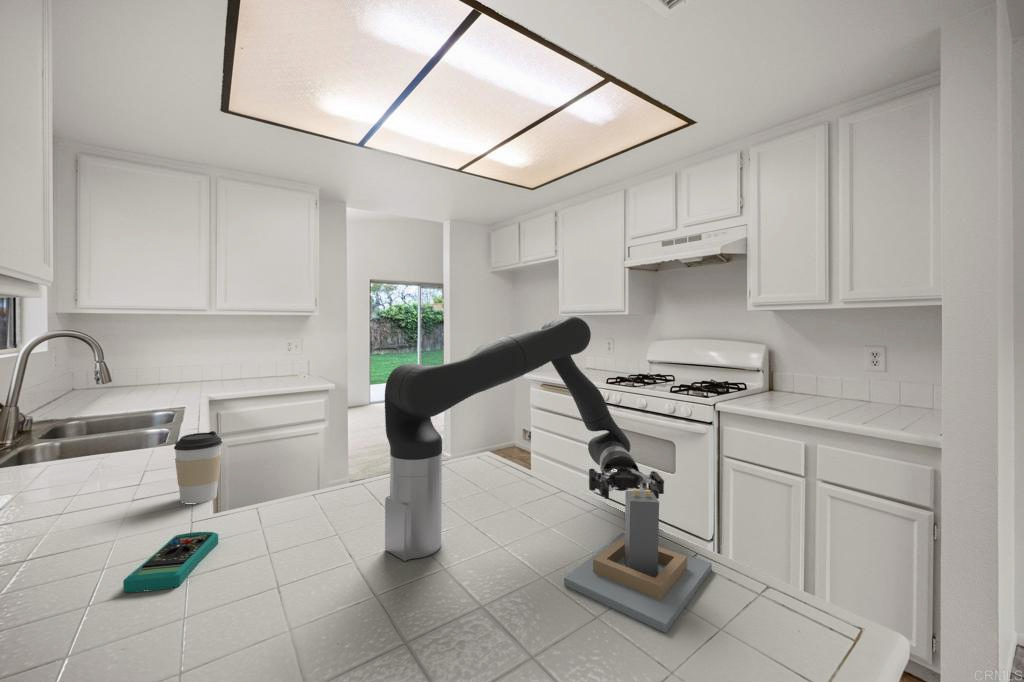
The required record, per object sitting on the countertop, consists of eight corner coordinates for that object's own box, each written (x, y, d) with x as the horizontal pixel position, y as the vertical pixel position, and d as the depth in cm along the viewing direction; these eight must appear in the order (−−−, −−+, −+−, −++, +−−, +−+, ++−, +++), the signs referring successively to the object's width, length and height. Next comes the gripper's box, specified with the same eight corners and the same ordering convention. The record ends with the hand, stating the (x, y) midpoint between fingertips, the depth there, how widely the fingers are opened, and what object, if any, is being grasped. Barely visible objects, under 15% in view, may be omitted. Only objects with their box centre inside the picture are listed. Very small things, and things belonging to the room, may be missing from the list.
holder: (666, 633, 56) (666, 609, 56) (564, 585, 67) (564, 565, 67) (711, 570, 72) (711, 551, 71) (622, 539, 82) (622, 522, 82)
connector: (628, 576, 67) (630, 494, 67) (624, 561, 72) (625, 484, 71) (657, 578, 67) (659, 496, 66) (651, 563, 71) (652, 485, 71)
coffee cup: (184, 510, 93) (184, 441, 92) (167, 500, 98) (166, 435, 97) (230, 496, 100) (229, 433, 100) (211, 488, 105) (211, 427, 105)
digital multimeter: (220, 543, 79) (220, 528, 79) (178, 591, 65) (177, 571, 65) (175, 548, 78) (174, 532, 78) (120, 597, 63) (120, 577, 63)
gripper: (585, 448, 95) (591, 472, 79) (651, 451, 94) (671, 476, 78) (585, 482, 96) (591, 513, 79) (650, 485, 94) (670, 517, 78)
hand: (630, 494), depth 79 cm, fingers open, 8 cm apart
